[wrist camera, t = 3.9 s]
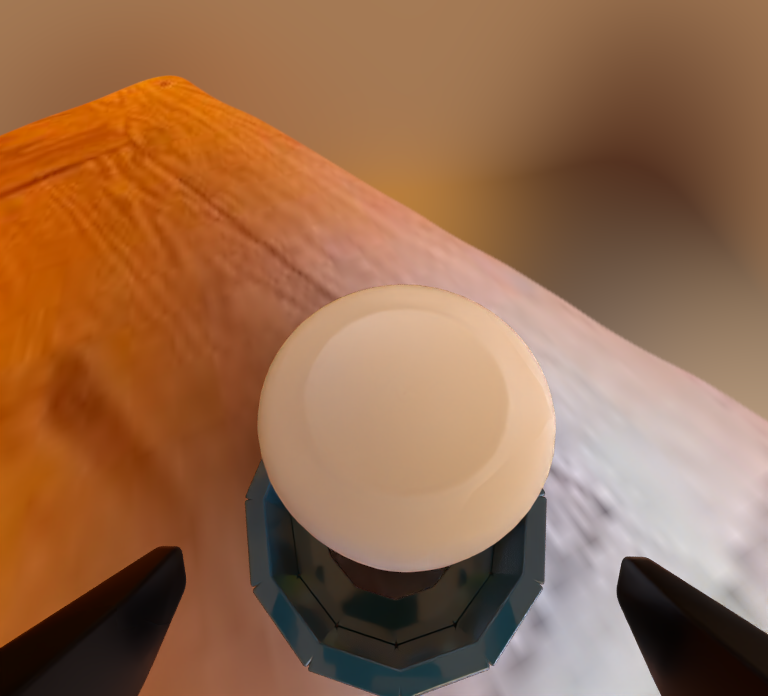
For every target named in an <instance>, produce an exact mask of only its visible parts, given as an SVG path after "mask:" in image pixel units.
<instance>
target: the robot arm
mask: <svg viewBox="0 0 768 696" xmlns="http://www.w3.org/2000/svg"><path fill="white" fill-rule="evenodd" d="M185 585H186V574H185V567H184V560H183V554H182V550H181V549H180V548H179V547H177V546H160V547H157V548H156V549H154V550H152V551H151V552H149V553H148V554H146V555H145V556H143V557H141V558H140V559H138V560H137V561H135V562H134V563H132V564H131V565H129V566H127V567H126V568H124V569H123V570H121V571H120V572H118V573H116V574H115V575H113V576H112V577H110V578H109V579H107V580H106V581H104V582H102V583H101V584H99V585H98V586H96V587H95V588H93V589H92V590H90V591H88V592H87V593H85V594H84V595H82V596H81V597H79V598H78V599H76V600H74V601H73V602H71V603H70V604H68V605H67V606H65V607H64V608H62V609H60V610H59V611H57V612H56V613H54V614H53V615H51V616H50V617H48V618H46V619H45V620H43V621H42V622H40V623H39V624H37V625H35V626H34V627H32V628H31V629H29V630H28V631H26V632H25V633H23V634H21V635H20V636H18V637H17V638H15V639H14V640H12V641H11V642H9V643H7V644H6V645H4V646H3V647H1V648H0V696H138V694H139V692H140V690H141V688H142V686H143V684H144V682H145V680H146V678H147V676H148V674H149V672H150V669H151V667H152V665H153V663H154V660H155V658H156V656H157V653H158V651H159V649H160V646H161V644H162V642H163V639H164V637H165V635H166V632H167V630H168V628H169V625H170V623H171V621H172V618H173V616H174V614H175V611H176V609H177V607H178V604H179V602H180V600H181V597H182V595H183V593H184V590H185ZM617 598H618V601H619V604H620V606H621V609H622V611H623V613H624V615H625V618H626V620H627V622H628V624H629V626H630V629H631V631H632V633H633V635H634V637H635V640H636V642H637V644H638V646H639V649H640V651H641V653H642V655H643V657H644V660H645V662H646V664H647V666H648V668H649V671H650V673H651V675H652V677H653V680H654V682H655V684H656V686H657V688H658V690H659V692H660V694H661V696H768V634H767V633H765V632H763V631H762V630H760V629H759V628H757V627H756V626H754V625H752V624H751V623H749V622H748V621H746V620H745V619H743V618H741V617H740V616H738V615H737V614H735V613H734V612H732V611H730V610H729V609H727V608H726V607H724V606H723V605H721V604H720V603H718V602H716V601H715V600H713V599H712V598H710V597H709V596H707V595H705V594H704V593H702V592H701V591H699V590H698V589H696V588H694V587H693V586H691V585H690V584H688V583H687V582H685V581H683V580H682V579H680V578H679V577H677V576H676V575H674V574H672V573H671V572H669V571H668V570H666V569H665V568H663V567H661V566H660V565H658V564H657V563H655V562H654V561H652V560H650V559H649V558H646V557H625V558H624V559H623V560H622V563H621V568H620V573H619V578H618V584H617Z"/></svg>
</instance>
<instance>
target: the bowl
mask: <svg viewBox="0 0 768 696" xmlns="http://www.w3.org/2000/svg"><path fill="white" fill-rule="evenodd" d="M544 495H545V492H544V490H543V488H542V490H541V492H540V494H539V496H538V497H537V499H536V501H535V502H534V504H533V505H532V507H531V509H530V510H529V511H528V512H527V514H526V515H525V516H524V517H523V518H522V519H521V521H520V522H519V523H518V524H517V525H516V526H515V527H514V528H513V529H512V530H511V531H510V532H509V533H507V534H506V535H505V536H504V537H503V538H501V539H500V540H499V541H498V542H496V543H495V544H493V545H492V546H490V547H489V548H487V549H485V550H484V551H482V552H480V553H478V554H476V555H474V556H472V557H470V558H468V559H465V560H463V561H460V562H458V563H455V564H452V565H450V566H449V567H448V568H447V570H446V571H445V572H444V574H443V575H442V576H441V577H440V579H439V580H438V581H437V583H436V584H435V585H434V587H431V588H428V589H425V590H422V591H419V592H416V593H413V594H410V595H407V596H404V597H401V598H398V599H392V598H389V597H386V596H383V595H379V594H376V593H373V592H370V591H367V590H364V589H360V588H357V587H356V586H355V585H354V583H353V582H352V581H351V580H350V579H349V577H348V576H347V575H346V574H345V572H344V571H343V570H342V569H341V567H340V566H339V565H338V564H337V563H336V561H335V560H334V559H333V558H332V556H331V555H330V549H329V547H327V546H326V545H324V544H323V543H322V542H320V541H319V540H317V539H316V538H315V537H313V536H312V535H311V534H310V533H309V532H308V531H307V530H306V529H305V528H304V527H303V526H301V525H300V524H299V523H298V522H297V521H296V519H295V518H294V517H293V516H292V515H291V514H290V513H289V511H288V510H287V509H286V507H285V506H284V504H283V503H282V501H281V500H280V498H279V497H278V495H277V493H276V492H275V490H274V488H273V486H272V484H271V482H270V480H269V477H268V474H267V471H266V468H265V465H264V463H263V459H261V462H260V464H259V466H258V469H257V471H256V473H255V475H254V478H253V480H252V482H251V485H250V487H249V489H248V492H247V494H246V498H247V499H248V500H246V501H245V512H246V526H247V540H248V554H249V568H250V582H251V586H252V587H255V588H254V589H253V593H254V594H255V596H256V597H257V599H258V600H259V602H260V603H261V605H262V606H263V607H264V609H265V610H266V612H267V613H268V615H269V616H270V618H271V619H272V621H273V622H274V623H275V625H276V626H277V628H278V629H279V631H280V632H281V634H282V635H283V637H284V638H285V640H286V641H287V642H288V644H289V645H290V647H291V648H292V650H293V651H294V653H295V654H296V656H297V657H298V658H299V660H300V661H301V663H302V664H303V666H305V667H306V666H308V665H309V667H308V670H309V671H310V672H313V673H316V674H318V675H321V676H324V677H327V678H330V679H333V680H335V681H338V682H341V683H344V684H347V685H349V686H352V687H355V688H358V689H361V690H364V691H366V692H369V693H372V694H375V695H378V696H420V695H423V694H425V693H428V692H431V691H433V690H436V689H439V688H441V687H444V686H447V685H449V684H452V683H455V682H457V681H460V680H463V679H465V678H468V677H471V676H473V675H476V674H479V673H481V672H484V671H487V670H488V669H489V668H490V667H489V664H490V665H492V666H494V665H495V664H496V662H497V660H498V659H499V657H500V656H501V654H502V653H503V651H504V649H505V648H506V646H507V645H508V643H509V642H510V640H511V639H512V637H513V635H514V634H515V632H516V631H517V629H518V628H519V626H520V624H521V623H522V621H523V620H524V618H525V617H526V615H527V613H528V612H529V610H530V609H531V607H532V606H533V604H534V602H535V601H536V599H537V598H538V596H539V595H540V593H541V591H542V590H543V587H542V586H541V585H540V584H544V578H545V541H546V504H547V499H546V498H545V497H543V496H544ZM337 624H338V625H337ZM396 643H397V644H396Z"/></svg>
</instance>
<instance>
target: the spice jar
mask: <svg viewBox="0 0 768 696" xmlns="http://www.w3.org/2000/svg"><path fill="white" fill-rule="evenodd" d="M257 428H258V438H259V445H260V450H261V455H262V459H263V463H264V465H265V468H266V471H267V474H268V477H269V480H270V482H271V484H272V486H273V488H274V490H275V492H276V493H277V495H278V497H279V498H280V500H281V501H282V503H283V504H284V506H285V507H286V509H287V510H288V511H289V513H290V514H291V515H292V516H293V517H294V518H295V519H296V521H297V522H298V523H299V524H300V525H301V526H303V527H304V528H305V529H306V530H307V531H308V532H309V533H310V534H311V535H312V536H313V537H315V538H316V539H317V540H319V541H320V542H322V543H323V544H324V545H326V546H327V547H329V548H330V549H332V550H334V551H336V552H337V553H339V554H341V555H342V556H344V557H347V558H349V559H351V560H353V561H356V562H358V563H360V564H363V565H366V566H370V567H373V568H377V569H381V570H387V571H395V572H418V571H426V570H433V569H439V568H442V567H446V566H449V565H452V564H455V563H458V562H460V561H463V560H465V559H468V558H470V557H472V556H474V555H476V554H478V553H480V552H482V551H484V550H485V549H487V548H489V547H490V546H492V545H493V544H495V543H496V542H498V541H499V540H500V539H501V538H503V537H504V536H505V535H506V534H507V533H509V532H510V531H511V530H512V529H513V528H514V527H515V526H516V525H517V524H518V523H519V522H520V521H521V519H522V518H523V517H524V516H525V515H526V514H527V512H528V511H529V510H530V509H531V507H532V505H533V504H534V502H535V501H536V499H537V497H538V496H539V494H540V492H541V490H542V488H543V485H544V483H545V481H546V479H547V477H548V474H549V470H550V466H551V463H552V459H553V455H554V444H555V432H556V424H555V413H554V407H553V401H552V397H551V393H550V390H549V387H548V384H547V381H546V379H545V376H544V374H543V372H542V370H541V368H540V365H539V363H538V362H537V360H536V359H535V357H534V355H533V354H532V352H531V351H530V349H529V348H528V347H527V345H526V344H525V343H524V341H523V340H522V339H521V338H520V337H519V336H518V335H517V333H516V332H515V331H514V330H513V329H512V328H511V327H510V326H509V325H507V324H506V323H505V322H504V321H503V320H502V319H500V318H499V317H498V316H496V315H495V314H494V313H492V312H491V311H489V310H488V309H486V308H484V307H483V306H481V305H480V304H478V303H476V302H473V301H471V300H469V299H467V298H465V297H463V296H460V295H457V294H455V293H452V292H449V291H445V290H442V289H438V288H433V287H427V286H421V285H387V286H380V287H373V288H369V289H365V290H361V291H357V292H354V293H351V294H348V295H346V296H343V297H341V298H338V299H336V300H334V301H333V302H331V303H329V304H327V305H325V306H324V307H322V308H320V309H319V310H318V311H316V312H315V313H314V314H312V315H311V316H310V317H308V318H307V319H306V320H305V321H303V322H302V323H301V324H300V325H299V326H298V327H297V328H296V329H295V330H294V331H293V333H292V334H291V335H290V336H289V337H288V338H287V340H286V341H285V342H284V344H283V345H282V346H281V348H280V350H279V351H278V353H277V354H276V356H275V358H274V360H273V361H272V363H271V365H270V367H269V371H268V373H267V376H266V378H265V380H264V385H263V388H262V390H261V396H260V402H259V409H258V427H257Z"/></svg>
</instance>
